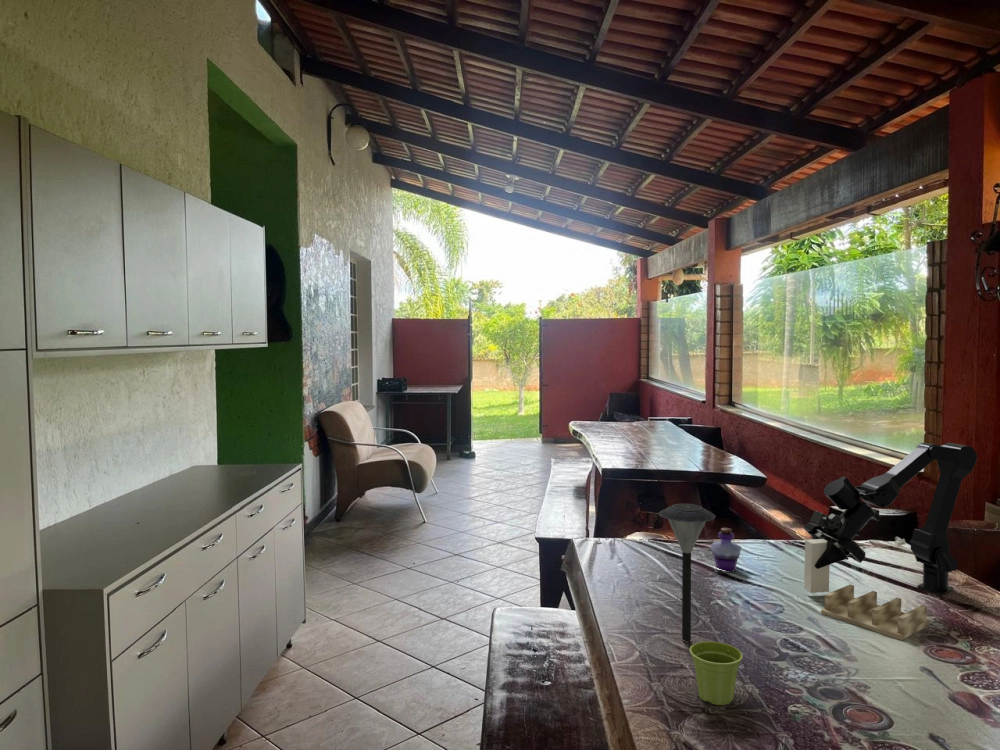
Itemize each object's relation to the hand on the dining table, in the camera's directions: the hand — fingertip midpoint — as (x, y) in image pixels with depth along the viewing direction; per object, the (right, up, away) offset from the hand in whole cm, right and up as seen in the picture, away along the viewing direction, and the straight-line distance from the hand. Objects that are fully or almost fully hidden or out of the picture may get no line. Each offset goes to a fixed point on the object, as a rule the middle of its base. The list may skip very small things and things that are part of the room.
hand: (811, 565), depth 174 cm
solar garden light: (-39, -10, -25) cm, 48 cm away
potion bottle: (-15, -8, +22) cm, 28 cm away
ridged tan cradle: (+8, -9, -14) cm, 19 cm away
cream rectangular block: (+1, -7, +1) cm, 7 cm away
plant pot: (-41, -11, -49) cm, 65 cm away
